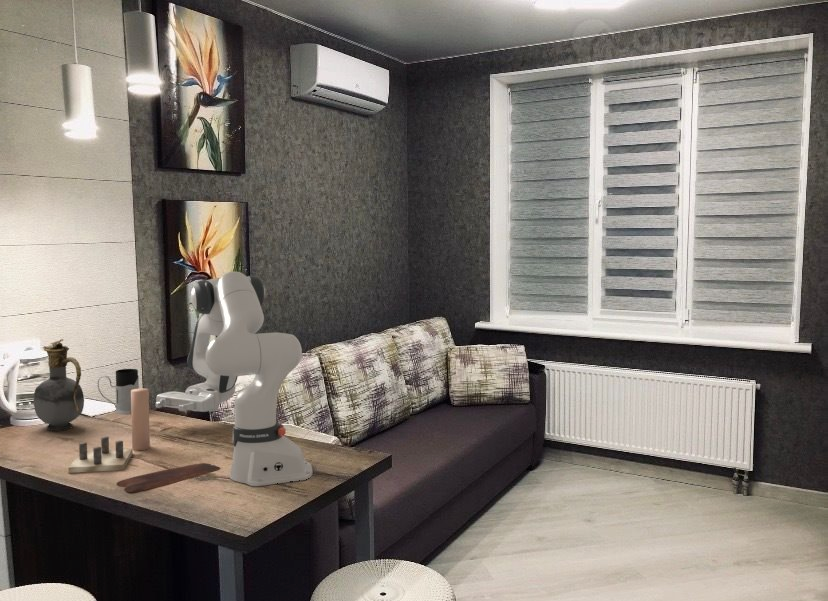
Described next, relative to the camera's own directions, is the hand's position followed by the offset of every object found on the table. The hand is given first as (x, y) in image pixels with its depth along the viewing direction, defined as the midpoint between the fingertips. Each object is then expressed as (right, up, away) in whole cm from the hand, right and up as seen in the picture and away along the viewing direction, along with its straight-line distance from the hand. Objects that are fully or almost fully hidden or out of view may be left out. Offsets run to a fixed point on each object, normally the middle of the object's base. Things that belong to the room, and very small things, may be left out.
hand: (168, 406), depth 220 cm
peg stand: (-11, -12, -24) cm, 29 cm away
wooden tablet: (+13, -15, -34) cm, 39 cm away
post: (-5, -11, -10) cm, 16 cm away
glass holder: (-29, -7, +31) cm, 43 cm away
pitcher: (-38, -9, +9) cm, 40 cm away
